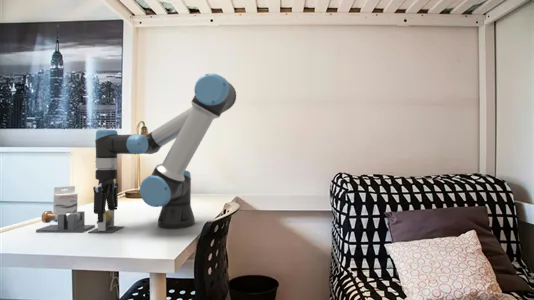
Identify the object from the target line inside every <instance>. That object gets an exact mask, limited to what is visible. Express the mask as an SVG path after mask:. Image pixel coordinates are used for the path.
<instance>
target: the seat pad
mask: <svg viewBox="0 0 534 300" xmlns="http://www.w3.org/2000/svg"><path fill="white" fill-rule="evenodd" d="M123 228H124V226H121V225H120V226H119V225H118V226H115V225H114V227H107V228H106V230H105V231H98V227H97V228H96V227H95V228H93V229H91V230H88V234H114V233H115V232H117V231H119V230H121V229H123Z"/></svg>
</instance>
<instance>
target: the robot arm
mask: <svg viewBox="0 0 534 300" xmlns="http://www.w3.org/2000/svg"><path fill="white" fill-rule="evenodd" d="M236 100H237V92H236V89H235V87H234V86H233V85H232V83H230V82H229V81H228V80H227V79H226V78H225V77H223V76H221V75H219V74H217V73H210V72H209V73H206V74H204V75H202V76H200V77H199V78H198V79H197V81H196V82H195V85H194V96H193V98H192V100H191V102H190V103H191V107H189V108H188V109H186V110H185V111H183V112H181V113H180V114H178V115H177V116H175V117H173V118H171V119H170V120H169V121H167V122H164V124H162V125H160V126H159V127H157V128H156V129H154V130H152V131H151V132H149V133H148V134H146V135H144V134H137V133H134V134H119V133H118V130H117V129H104V128H102V129H101V128H100V129H97V130H96V132H95V140H94V142H95V176H94V177H95V179H96V180H98V185H97V186H93V213H94V214H96V215H97V221H98V224H97V228H98V231H105V230H106V213H104V212H105V210H106V204H107V210H106V211H107V213H108V214H109V216H110V217H111V218H112V221H110V225H109V226H108V227H114V226H115V211H116V210H118V207H119V206H118V205H119V202H118V201H119V200H118V199H119V197H118V196H119V194H118V190H119V189H118V188H119V183H118V182H117V183H116V182H115V180H116V179H117V178H118V170H117V169H118V155H143V154H144V155H153V154H156V153H158V152H159V151H160V149H161V148H162V147H164V146H165V145H167V144H168V143H170V142H172V141H173V140H174V141H173V143H172V145H171V146H170V149H169V150H168V152H167V154H166V156H165V158H164V160H163V161H162V163H160V164H156V166H155V168H154V169H153V171H152V173H151V175H148V176H146V177H145V178H144V179H143V180H142V181H141V183H140V187H139V193H140V196H141V199H142V201H143V202H144V203H145V204H146V205H148V206H150V207H153V208H159V207H161V208H160V213H159V215H158V218H157V227H159V228H161V229H168V230H169V229H172V230H173V229H183V228H187V227H188V228H189V227H192V226H194V225H196V223H195V222H196V219H195V215H194V212H193V208H192V205H191V200H192V197H191V193H192V191H191V190H192V189H191V187H192V185H191V184H192V183H191V182H192V178H191V171H189V170H186V169H187V168H188V166H189V164H190V163H191V160H192V158H193V157H194V155H195V153H196V151H197V149H198V148H199V146H200V144H201V142H202V141H203V139H204V137H205V135H206V134H207V131H208V130H209V128H210V126H211V125H212V122H213V121H214V120H215V119H218V118H220V116H221V115H222V114H223V113H225V112H227V111H228V110H230V109H231V108H232V107H233V106H234V105H235V103H236Z"/></svg>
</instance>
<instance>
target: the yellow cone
mask: <svg viewBox="0 0 534 300" xmlns="http://www.w3.org/2000/svg"><path fill="white" fill-rule="evenodd" d="M104 213H106V228H107V227H108V226H109V225H110V221H112V218H111V217H110V216H109V214H108V213H107V210H106V209H105V212H104ZM96 224H97V225H98V220H96Z"/></svg>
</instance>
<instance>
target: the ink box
mask: <svg viewBox="0 0 534 300" xmlns="http://www.w3.org/2000/svg"><path fill="white" fill-rule="evenodd" d="M64 189H65V190H64ZM75 190H76V186H75V185H73V186H71V185H70V186H57V187H54V188H53V191H54V193H53V213H66V212H69V211H75V213H76V212H78V193H77V192H76V191H75ZM55 222H57V223H58V221H55Z"/></svg>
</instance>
